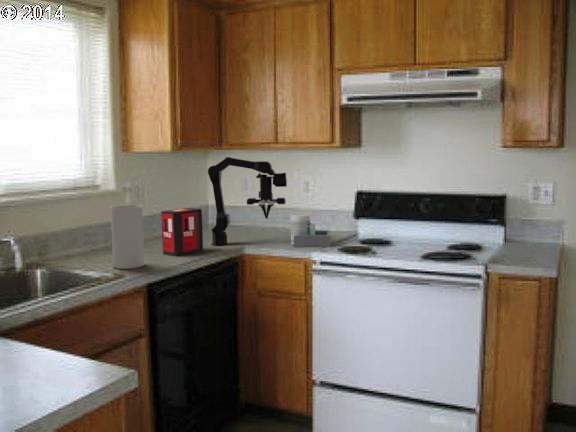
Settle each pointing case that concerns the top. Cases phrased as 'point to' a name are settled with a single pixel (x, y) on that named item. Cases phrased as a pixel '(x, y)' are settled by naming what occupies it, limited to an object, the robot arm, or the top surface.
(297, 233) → the supplement tub
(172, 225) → the cleaning product box
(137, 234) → the cylinder vase
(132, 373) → the top surface
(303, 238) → the grey tray
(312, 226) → the plate
